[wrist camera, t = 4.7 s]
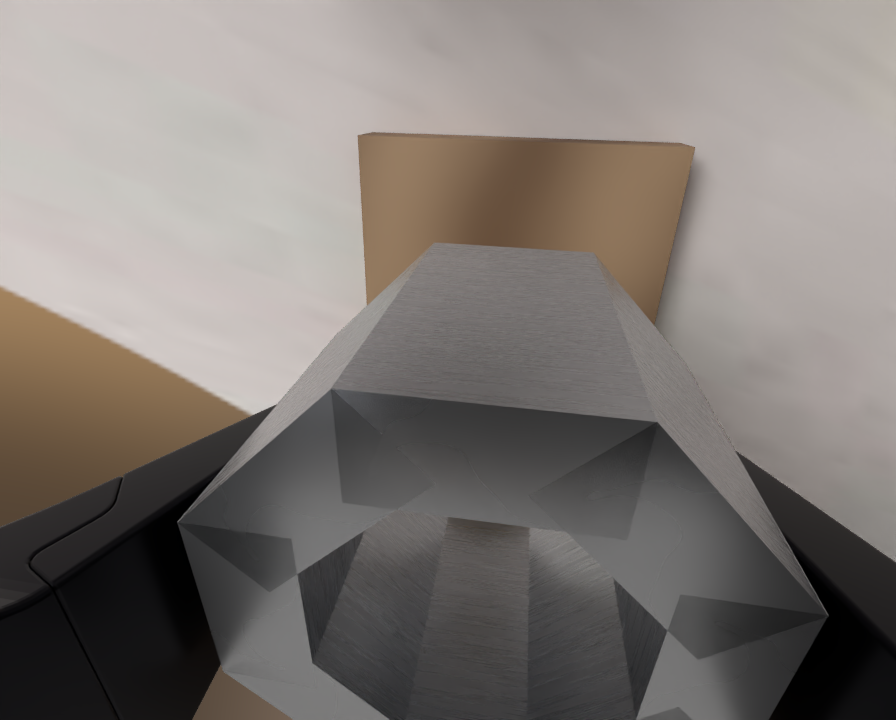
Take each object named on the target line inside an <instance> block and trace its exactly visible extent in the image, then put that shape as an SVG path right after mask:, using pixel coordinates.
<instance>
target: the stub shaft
mask: <svg viewBox="0 0 896 720" xmlns="http://www.w3.org/2000/svg"><path fill="white" fill-rule="evenodd" d="M358 148H359V167H360V185H361V203H362V221H363V240H364V258H365V276H366V295H367V305H368V304H369V303H370V302H372V301H373V300H374V299H375V298H376V297H377V296H378V295H379V294H380V293H381V292H382V291H383V290H384V289H385V288H386V287H388V286H389V285H390V284H391V283H392V282H393V281H394V280H395V279H396V278H397V277H398V276H399V275H400V274H401V273H402V272H404V271H405V270H406V269H407V268H408V267H409V266H410V265H411V264H412V263H413V262H414V261H415V260H416V259H417V258H419V257H420V256H421V255H422V254H423V253H424V252H425V251H426V250H427V249H428V248H429V247H430V246H431V245H432V244H433V243H450V244H466V245H482V246H498V247H514V248H530V249H545V250H561V251H577V252H593V253H595V255H596V256H597V257H598V258H599V259H600V261H601V262H602V263H603V264H604V265H605V267H606V268H607V269H608V270H609V272H610V273H611V274H612V275H613V276H614V278H615V279H616V280H617V281H618V282H619V284H620V285H621V286H622V287H623V288H624V290H625V291H626V292H627V293H628V295H629V296H630V297H631V298H632V299H633V301H634V302H635V303H636V304H637V305H638V307H639V308H640V309H641V310H642V311H643V313H644V314H645V315H646V316H647V318H648V319H649V320H650V321H651V322H652V324H653V325H654V324H655V319H656V315H657V311H658V306H659V302H660V298H661V293H662V289H663V285H664V280H665V276H666V272H667V267H668V263H669V259H670V254H671V250H672V246H673V241H674V237H675V233H676V228H677V224H678V220H679V215H680V211H681V207H682V202H683V198H684V194H685V189H686V185H687V181H688V176H689V172H690V168H691V163H692V159H693V155H694V150H695V147H692V146H689V145H685V144H682V143H663V142H635V141H606V140H577V139H548V138H520V137H491V136H462V135H434V134H405V133H376V132H372V133H367V134H362V135H358Z"/></svg>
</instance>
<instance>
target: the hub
mask: <svg viewBox="0 0 896 720" xmlns="http://www.w3.org/2000/svg"><path fill="white" fill-rule="evenodd" d="M177 523H178V526H179V530H180V533H181V536H182V539H183V542H184V546H185V549H186V552H187V555H188V559H189V562H190V565H191V568H192V572H193V575H194V578H195V581H196V585H197V588H198V591H199V594H200V598H201V601H202V604H203V607H204V611H205V614H206V617H207V620H208V624H209V627H210V630H211V633H212V637H213V640H214V643H215V646H216V649H217V653H218V656H219V659H220V662H221V666H222V669H223V672H225V673H226V674H228V675H229V676H231V677H232V678H234V679H235V680H237V681H238V682H239V683H241V684H242V685H244V686H245V687H247V688H248V689H250V690H251V691H252V692H254V693H255V694H257V695H258V696H260V697H261V698H263V699H264V700H266V701H267V702H268V703H270V704H271V705H273V706H274V707H276V708H277V709H279V710H280V711H282V712H283V713H285V714H286V715H288V716H289V717H290V718H292V719H293V720H769V718H770V716H771V715H772V713H773V711H774V709H775V708H776V706H777V704H778V702H779V701H780V699H781V697H782V695H783V694H784V692H785V690H786V688H787V687H788V685H789V683H790V682H791V680H792V678H793V676H794V675H795V673H796V671H797V669H798V668H799V666H800V664H801V662H802V661H803V659H804V657H805V655H806V654H807V652H808V650H809V648H810V647H811V645H812V643H813V642H814V640H815V638H816V636H817V635H818V633H819V631H820V629H821V628H822V626H823V624H824V622H825V621H826V619H827V617H828V614H827V612H826V610H825V609H824V607H823V605H822V603H821V601H820V600H819V598H818V596H817V594H816V593H815V591H814V589H813V587H812V586H811V584H810V582H809V580H808V578H807V577H806V575H805V573H804V571H803V570H802V568H801V566H800V564H799V563H798V561H797V559H796V557H795V555H794V554H793V552H792V550H791V548H790V547H789V545H788V543H787V541H786V540H785V538H784V536H783V534H782V533H781V531H780V529H779V527H778V525H777V524H776V522H775V520H774V518H773V517H772V515H771V513H770V511H769V510H768V508H767V506H766V504H765V502H764V501H763V499H762V497H761V495H760V494H759V492H758V490H757V488H756V487H755V485H754V483H753V481H752V480H751V478H750V476H749V474H748V472H747V471H746V469H745V467H744V465H743V464H742V462H741V460H740V458H739V457H738V455H737V453H736V451H735V449H734V448H733V446H732V444H731V442H730V441H729V439H728V437H727V435H726V434H725V432H724V430H723V428H722V426H721V425H720V423H719V421H718V419H717V418H716V416H715V414H714V412H713V411H712V409H711V407H710V405H709V404H708V402H707V400H706V398H705V396H704V395H703V393H702V391H701V389H700V388H699V386H698V384H697V382H696V381H695V379H694V377H693V375H692V373H691V372H690V370H689V368H688V366H687V365H686V364H685V362H684V361H683V360H682V359H681V357H680V356H679V355H678V354H677V353H676V351H675V350H674V349H673V348H672V347H671V345H670V344H669V343H668V342H667V341H666V339H665V338H664V337H663V336H662V334H661V333H660V332H659V331H658V330H657V328H656V327H655V326H654V325H653V324H652V322H651V321H650V320H649V319H648V318H647V316H646V315H645V314H644V313H643V311H642V310H641V309H640V308H639V307H638V305H637V304H636V303H635V302H634V301H633V299H632V298H631V297H630V296H629V295H628V293H627V292H626V291H625V290H624V288H623V287H622V286H621V285H620V284H619V282H618V281H617V280H616V279H615V278H614V276H613V275H612V274H611V273H610V272H609V270H608V269H607V268H606V267H605V265H604V264H603V263H602V262H601V261H600V259H599V258H598V257H597V256H596V255H595V253H593V252H577V251H561V250H545V249H530V248H514V247H498V246H482V245H466V244H450V243H433V244H432V245H431V246H430V247H429V248H428V249H427V250H426V251H425V252H424V253H423V254H422V255H421V256H420V257H419V258H417V259H416V260H415V261H414V262H413V263H412V264H411V265H410V266H409V267H408V268H407V269H406V270H405V271H404V272H402V273H401V274H400V275H399V276H398V277H397V278H396V279H395V280H394V281H393V282H392V283H391V284H390V285H389V286H388V287H386V288H385V289H384V290H383V291H382V292H381V293H380V294H379V295H378V296H377V297H376V298H375V299H374V300H373V301H372V302H370V303H369V304H368V305H367V306H366V307H365V308H364V309H363V310H362V311H361V312H360V313H359V314H358V315H357V316H356V317H354V318H353V319H352V320H351V321H350V322H349V323H348V324H347V325H346V326H345V327H344V328H343V329H342V330H341V331H340V332H338V333H337V334H336V335H335V337H334V338H333V339H332V340H331V341H330V343H329V344H328V345H327V346H326V347H325V348H324V350H323V351H322V352H321V353H320V354H319V356H318V357H317V358H316V359H315V360H314V361H313V363H312V364H311V365H310V366H309V367H308V369H307V370H306V371H305V372H304V373H303V374H302V376H301V377H300V378H299V379H298V380H297V382H296V383H295V384H294V385H293V386H292V387H291V389H290V390H289V391H288V392H287V393H286V395H285V396H284V397H283V398H282V399H281V400H280V402H279V403H278V404H277V405H276V406H275V407H274V409H273V410H272V411H271V412H270V413H269V415H268V416H267V417H266V418H265V419H264V420H263V422H262V423H261V424H260V425H259V426H258V428H257V429H256V430H255V431H254V432H253V433H252V435H251V436H250V437H249V438H248V439H247V441H246V442H245V443H244V444H243V445H242V446H241V448H240V449H239V450H238V451H237V452H236V454H235V455H234V456H233V457H232V458H231V459H230V461H229V462H228V463H227V464H226V465H225V467H224V468H223V469H222V470H221V471H220V472H219V474H218V475H217V476H216V477H215V478H214V479H213V481H212V482H211V483H210V484H209V485H208V487H207V488H206V489H205V490H204V491H203V492H202V494H201V495H200V496H199V497H198V498H197V500H196V501H195V502H194V503H193V504H192V505H191V507H190V508H189V509H188V510H187V511H186V513H185V514H184V515H183V516H182V517H181V518H180V520H179V521H178V522H177Z"/></svg>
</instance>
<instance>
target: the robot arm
mask: <svg viewBox="0 0 896 720" xmlns="http://www.w3.org/2000/svg"><path fill="white" fill-rule="evenodd" d="M275 406H276V405H274V406H272V407H270V408H268V409H266V410H263V411H261V412H259V413H257V414H255V415H252V416H250V417H248V418H246V419H244V420H241V421H239V422H237V423H235V424H233V425H231V426H228V427H226V428H224V429H222V430H220V431H217V432H215V433H213V434H211V435H209V436H207V437H204V438H202V439H200V440H198V441H196V442H194V443H191V444H189V445H187V446H185V447H182V448H180V449H178V450H176V451H174V452H171V453H169V454H167V455H165V456H163V457H160V458H158V459H156V460H154V461H152V462H150V463H147V464H145V465H143V466H141V467H139V468H136V469H134V470H132V471H130V472H128V473H125V474H124V476H123V478H122V477H120V476H119V477H116V478H114V479H112V480H110V481H108V482H106V483H103V484H101V485H99V486H97V487H95V488H92V489H90V490H88V491H86V492H83V493H81V494H79V495H76V496H74V497H72V498H70V499H67V500H65V501H63V502H60V503H58V504H56V505H53V506H51V507H48V508H46V509H43V510H41V511H38V512H36V513H34V514H31V515H29V516H26V517H24V518H21V519H19V520H16V521H14V522H12V523H9V524H6V525H4V526H1V527H0V720H192V719H193V717H194V715H195V713H196V711H197V709H198V707H199V705H200V703H201V702H202V700H203V698H204V696H205V694H206V692H207V690H208V688H209V686H210V684H211V682H212V680H213V678H214V676H215V674H216V672H217V671H218V668H219V667H220V665H221V662H220V659H219V656H218V653H217V649H216V646H215V643H214V640H213V637H212V633H211V630H210V627H209V624H208V620H207V617H206V614H205V611H204V607H203V604H202V601H201V598H200V594H199V591H198V588H197V585H196V581H195V578H194V575H193V572H192V568H191V565H190V562H189V559H188V555H187V552H186V549H185V546H184V542H183V539H182V536H181V533H180V530H179V526H178V523H177V522H178V521H179V520H180V518H181V517H182V516H183V515H184V514H185V513H186V511H187V510H188V509H189V508H190V507H191V505H192V504H193V503H194V502H195V501H196V500H197V498H198V497H199V496H200V495H201V494H202V492H203V491H204V490H205V489H206V488H207V487H208V485H209V484H210V483H211V482H212V481H213V479H214V478H215V477H216V476H217V475H218V474H219V472H220V471H221V470H222V469H223V468H224V467H225V465H226V464H227V463H228V462H229V461H230V459H231V458H232V457H233V456H234V455H235V454H236V452H237V451H238V450H239V449H240V448H241V446H242V445H243V444H244V443H245V442H246V441H247V439H248V438H249V437H250V436H251V435H252V433H253V432H254V431H255V430H256V429H257V428H258V426H259V425H260V424H261V423H262V422H263V420H264V419H265V418H266V417H267V416H268V415H269V413H270V412H271V411H272V410H273V409H274V407H275ZM736 453H737V455H738V457H739V458H740V460H741V462H742V464H743V465H744V467H745V469H746V471H747V472H748V474H749V476H750V478H751V480H752V481H753V483H754V485H755V487H756V488H757V490H758V492H759V494H760V495H761V497H762V499H763V501H764V502H765V504H766V506H767V508H768V510H769V511H770V513H771V515H772V517H773V518H774V520H775V522H776V524H777V525H778V527H779V529H780V531H781V533H782V534H783V536H784V538H785V540H786V541H787V543H788V545H789V547H790V548H791V550H792V552H793V554H794V555H795V557H796V559H797V561H798V563H799V564H800V566H801V568H802V570H803V571H804V573H805V575H806V577H807V578H808V580H809V582H810V584H811V586H812V587H813V589H814V591H815V593H816V594H817V596H818V598H819V600H820V601H821V603H822V605H823V607H824V609H825V610H826V612H827V614H828V617H827V619H826V621H825V622H824V624H823V626H822V628H821V629H820V631H819V633H818V635H817V636H816V638H815V640H814V642H813V643H812V645H811V647H810V648H809V650H808V652H807V654H806V655H805V657H804V659H803V661H802V662H801V664H800V666H799V668H798V669H797V671H796V673H795V675H794V676H793V678H792V680H791V682H790V683H789V685H788V687H787V688H786V690H785V692H784V694H783V695H782V697H781V699H780V701H779V702H778V704H777V706H776V708H775V709H774V711H773V713H772V715H771V716H770V718H769V720H896V562H894V561H893V560H892V559H890V558H889V557H887V556H886V555H884V554H883V553H882V552H880V551H879V550H877V549H876V548H874V547H873V546H871V545H870V544H869V543H867V542H866V541H864V540H863V539H861V538H860V537H859V536H857V535H856V534H854V533H853V532H851V531H850V530H849V529H847V528H846V527H844V526H843V525H841V524H840V523H838V522H837V521H836V520H834V519H833V518H831V517H830V516H828V515H827V514H826V513H824V512H823V511H821V510H820V509H818V508H817V507H815V506H814V505H813V504H811V503H810V502H808V501H807V500H805V499H804V498H803V497H801V496H800V495H798V494H797V493H795V492H794V491H793V490H791V489H790V488H788V487H787V486H785V485H784V484H782V483H781V482H780V481H778V480H777V479H775V478H774V477H772V476H771V475H770V474H768V473H767V472H765V471H764V470H762V469H761V468H760V467H758V466H757V465H755V464H754V463H752V462H751V461H749V460H748V459H747V458H745V457H744V456H742V455H741V454H739V453H738V452H737V451H736Z"/></svg>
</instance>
